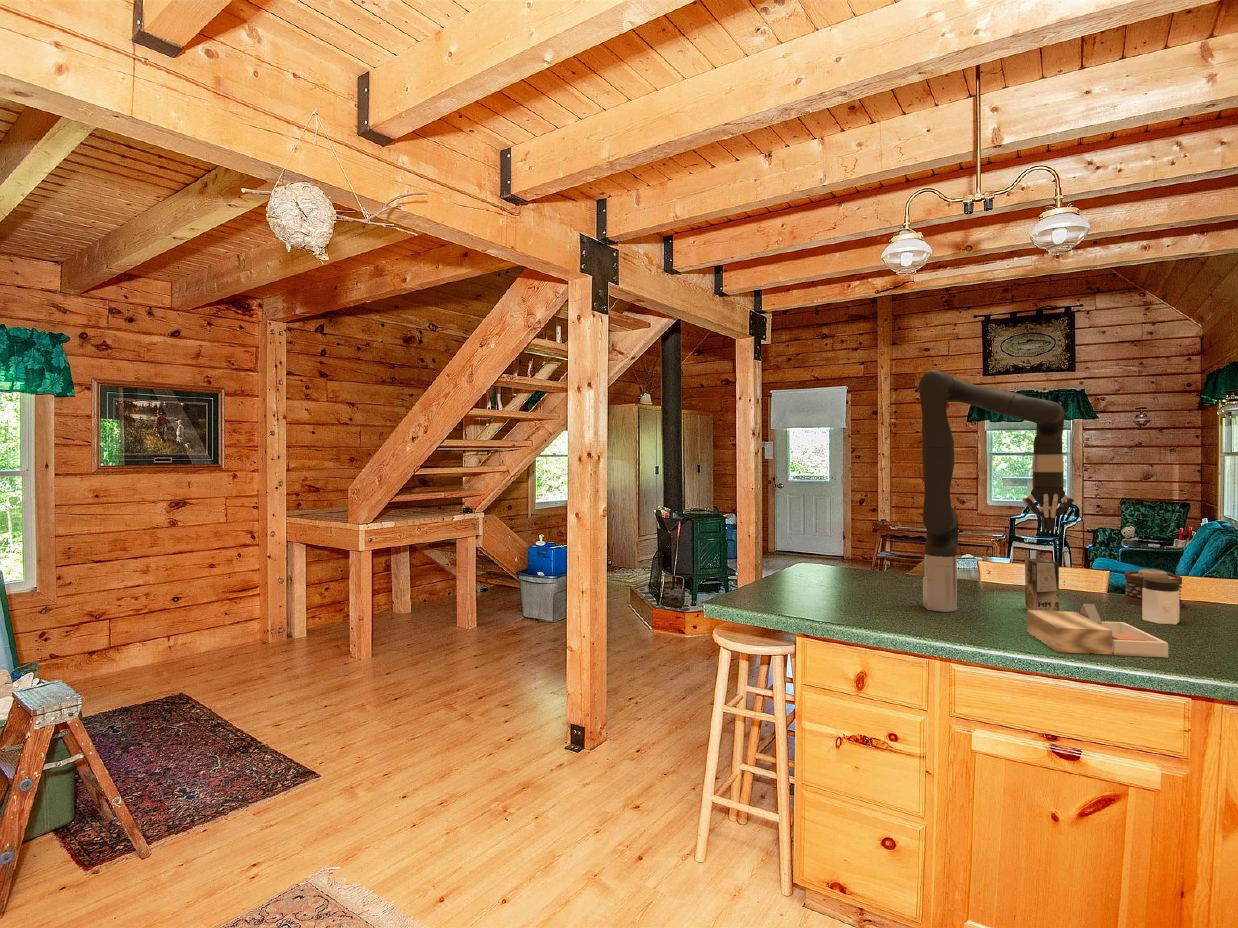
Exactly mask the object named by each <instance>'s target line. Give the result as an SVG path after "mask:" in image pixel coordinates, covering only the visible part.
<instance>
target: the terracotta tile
mask: <svg viewBox="0 0 1238 928" xmlns="http://www.w3.org/2000/svg"><path fill="white" fill-rule="evenodd" d="M1112 640H1130V641H1145V639H1142V638H1140V637H1138V636H1136V635H1133V634H1131V633H1112Z"/></svg>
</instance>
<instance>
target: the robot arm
mask: <svg viewBox="0 0 1238 928" xmlns="http://www.w3.org/2000/svg"><path fill="white" fill-rule="evenodd" d="M918 393H919V394H918V395H919V401H920V408H921V459H922V460H921V461H922V462H921V463H922V473H923V475H922V476H923V483H924V484H923V487H924V498H923V499H924V500H923V508H922V524H923V526H924V527H925V529H926V538H925V544H924V576H923V577H922V606H923V607H924V608H925V609H926V610H928V611H935V612H945V613H946V612H949V613H950V612H956V611H957V610H958V595H957V594H958V586H957V585H958V581H957V580H958V576H957V575H958V573H957V572H958V568H957V567H958V566H957V565H958V562H957V561H958V556H957V555H958V554H957V553H958V552H957V551H958V546H959V517H958V513H957V511H956V510H955V508H954V507H952V499H951V485H952V478H953V475H954V468H955V442H954V436H953V432H952V428H951V426H950V422H949V419H948V413H947V411H948V409H947V408H948V407H947V406H948V402H954V403H955V402H956V403H963V404H967V405H970V406H975V407H978V408H981V409H982V410H985V411H989V412H992V413H995V414H1000V415H1003V416H1007V417H1011V418H1019V419H1022V420H1025V421H1028V422H1031V423H1035V424H1036V428H1035V429H1036V431H1035V432H1036V434H1035V436H1034V438H1033V458H1032V466H1031V470H1032V490H1031V491H1030V495H1028V496H1027V497H1023V498H1022V502H1023V503H1024V504H1025V505H1026V506H1027V507H1028V508H1029V510H1030V511H1031V512H1032V513H1033V514H1034V515H1035V516H1039V517H1040V520H1041V521H1040V522H1041V524H1040V525H1041V528H1042V529H1043V531H1044V532H1052V531H1053V530H1054V529H1055V519H1056V517H1058V516H1059V517H1060V516H1062V515H1064V513H1065V512H1066V510H1068V509H1069V508H1070V507H1071V505H1072V504H1073V503H1074V500H1075V499H1073V498H1071V497H1069V496H1068V495H1066V492H1065V489H1064V487H1065V485H1064V482H1065V481H1064V480H1065V479H1064V469H1065V468H1064V467H1065V466H1064V458H1063V457H1064V455H1063V432H1064V426H1065V410H1064V408H1063V406H1062V405H1061V404H1060V403H1058V402H1056V401H1052V400H1048V399H1042V398H1038V397H1033V396H1032V397H1031V396H1027V395H1024V394H1022V393H1019V392H1018V393H1017V392H1014V391H1008V390H1005V389H1001V388H994V387H989V386H983V385H977V384H974V383H970V382H967V381H964V380H961V379H959V378H957V377H956V376H955V377H954V376H952V375H950V374H949V373H947V372H944V371H939V370H930V371H927V372H926V373H924V374H923V375H922V377H921V378H920V380H919V382H918ZM1035 502H1036V503H1037V504H1038V507H1039V508H1038V507H1037V505H1036V504H1035ZM1060 502H1061V503H1060ZM1059 504H1060V505H1059Z"/></svg>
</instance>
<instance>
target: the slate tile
mask: <svg viewBox="0 0 1238 928" xmlns="http://www.w3.org/2000/svg"><path fill="white" fill-rule="evenodd" d="M1078 613H1079V614H1081V615H1083V616H1085V617H1087V618H1089V619H1091V620H1093V621H1095V622H1097V623H1099V624H1102V622H1103V620H1102V619H1101V617H1100V615H1099V612H1098V611H1097V607H1096V605H1095V604H1093V603H1083V604H1082V606H1081V609H1080V611H1079V612H1078Z"/></svg>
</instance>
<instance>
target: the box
mask: <svg viewBox="0 0 1238 928" xmlns="http://www.w3.org/2000/svg"><path fill="white" fill-rule="evenodd" d="M1101 625H1103V626H1105V627H1107V628H1109V629H1111V630H1112V633H1131V634H1133V635H1136V636H1138V637H1140V638H1142V639H1145V641H1130V640H1112V654H1111V655H1114V656H1123V657H1148V658H1167V659H1168V658H1169V643H1168V642H1167V641H1165V640H1162V639H1160V638H1158V637H1156V636H1154V635H1152V634H1149V633H1147V632H1146V631H1143V630H1141V629H1139V628H1136V627H1135V626H1132V625H1131V624H1128V623H1126V622H1123V621H1102V624H1101Z"/></svg>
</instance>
